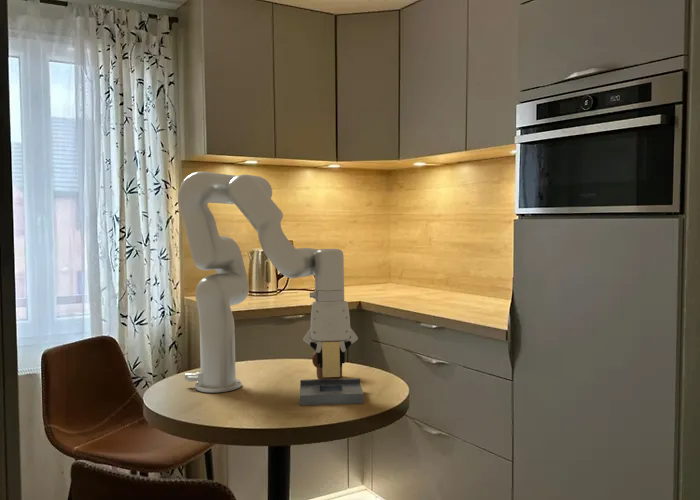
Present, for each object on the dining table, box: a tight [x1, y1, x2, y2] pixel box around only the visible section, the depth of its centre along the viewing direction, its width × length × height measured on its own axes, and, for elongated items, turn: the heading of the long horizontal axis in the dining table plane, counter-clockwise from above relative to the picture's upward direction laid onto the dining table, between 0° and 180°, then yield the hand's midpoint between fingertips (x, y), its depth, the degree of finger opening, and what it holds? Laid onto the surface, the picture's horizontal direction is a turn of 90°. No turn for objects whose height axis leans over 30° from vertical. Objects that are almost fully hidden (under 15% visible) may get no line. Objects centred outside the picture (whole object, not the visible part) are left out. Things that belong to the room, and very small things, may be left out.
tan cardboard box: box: [322, 341, 340, 377], centre depth 162 cm, size 4×4×9 cm
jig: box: [299, 377, 365, 406], centre depth 162 cm, size 16×12×4 cm
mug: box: [311, 347, 343, 379], centre depth 182 cm, size 12×8×9 cm, turn 149°
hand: (331, 365), depth 162 cm, fingers closed on tan cardboard box, 4 cm apart
